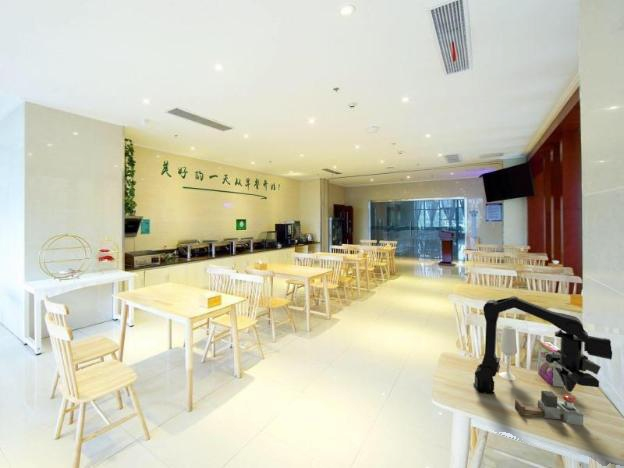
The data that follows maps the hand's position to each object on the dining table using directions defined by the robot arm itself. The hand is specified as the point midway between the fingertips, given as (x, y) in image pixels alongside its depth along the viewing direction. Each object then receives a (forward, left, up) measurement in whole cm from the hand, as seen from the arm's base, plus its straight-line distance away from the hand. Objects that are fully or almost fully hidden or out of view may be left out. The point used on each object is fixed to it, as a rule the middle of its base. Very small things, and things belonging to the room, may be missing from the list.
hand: (569, 391), depth 104 cm
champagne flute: (-8, +27, -10) cm, 30 cm away
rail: (-10, 0, -10) cm, 14 cm away
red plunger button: (0, 0, -8) cm, 8 cm away
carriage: (-6, 0, -10) cm, 12 cm away
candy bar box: (+10, +27, -10) cm, 31 cm away
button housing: (0, 0, -10) cm, 10 cm away
